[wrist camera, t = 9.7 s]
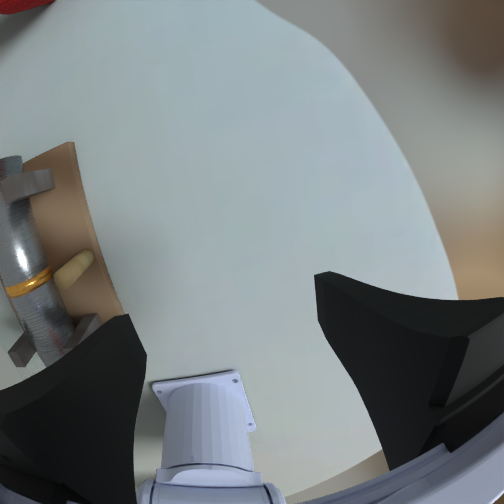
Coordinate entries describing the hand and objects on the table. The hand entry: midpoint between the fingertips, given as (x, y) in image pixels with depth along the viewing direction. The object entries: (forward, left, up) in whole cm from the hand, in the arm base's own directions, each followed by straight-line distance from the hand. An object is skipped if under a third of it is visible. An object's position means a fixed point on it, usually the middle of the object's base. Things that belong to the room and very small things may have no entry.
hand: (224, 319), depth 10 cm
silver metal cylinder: (+2, +14, -8) cm, 16 cm away
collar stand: (+2, +14, -9) cm, 17 cm away
